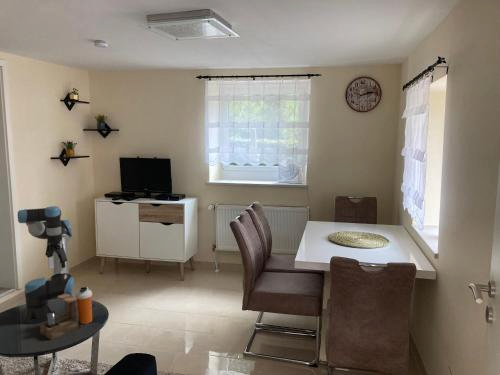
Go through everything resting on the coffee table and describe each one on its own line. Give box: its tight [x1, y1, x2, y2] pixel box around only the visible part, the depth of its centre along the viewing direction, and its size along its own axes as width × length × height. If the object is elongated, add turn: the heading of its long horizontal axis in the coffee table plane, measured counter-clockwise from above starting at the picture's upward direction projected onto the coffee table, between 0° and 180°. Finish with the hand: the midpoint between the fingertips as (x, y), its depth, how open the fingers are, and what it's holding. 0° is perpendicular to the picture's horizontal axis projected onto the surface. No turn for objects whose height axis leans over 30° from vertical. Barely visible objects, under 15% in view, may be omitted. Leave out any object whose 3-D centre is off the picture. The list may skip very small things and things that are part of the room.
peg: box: [47, 311, 56, 328], centre depth 226 cm, size 4×4×12 cm
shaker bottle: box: [75, 286, 93, 325], centre depth 239 cm, size 9×9×20 cm
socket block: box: [39, 293, 80, 341], centre depth 228 cm, size 12×16×18 cm
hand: (57, 270), depth 232 cm, fingers open, 13 cm apart
